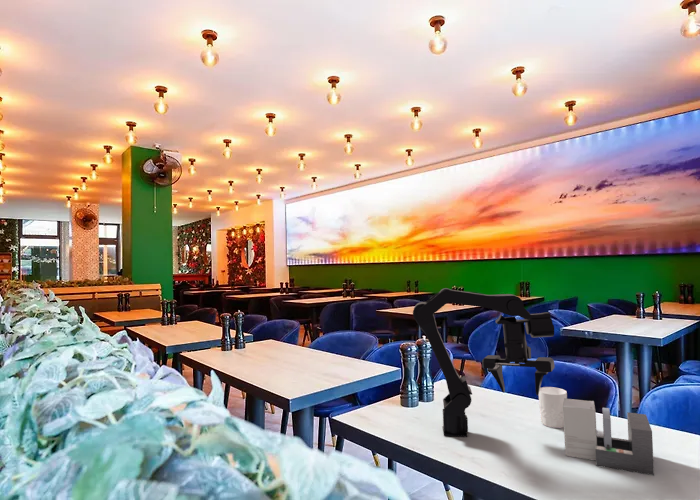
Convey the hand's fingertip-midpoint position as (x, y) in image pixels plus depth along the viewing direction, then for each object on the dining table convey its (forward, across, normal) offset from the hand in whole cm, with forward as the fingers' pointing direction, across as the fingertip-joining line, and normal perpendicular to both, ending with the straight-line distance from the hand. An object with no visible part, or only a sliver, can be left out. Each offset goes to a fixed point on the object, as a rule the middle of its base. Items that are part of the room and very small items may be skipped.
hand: (520, 393), depth 125 cm
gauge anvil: (+13, -24, +4) cm, 27 cm away
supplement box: (+13, -15, +5) cm, 20 cm away
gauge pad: (+12, -21, +5) cm, 25 cm away
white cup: (+13, -6, -13) cm, 19 cm away
